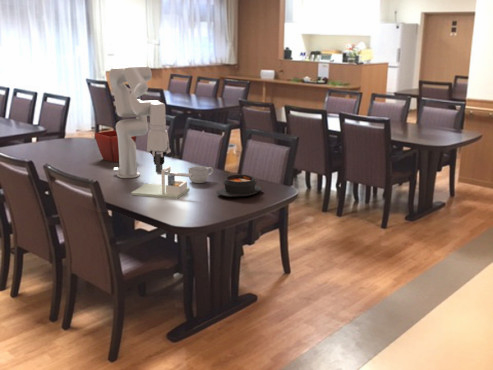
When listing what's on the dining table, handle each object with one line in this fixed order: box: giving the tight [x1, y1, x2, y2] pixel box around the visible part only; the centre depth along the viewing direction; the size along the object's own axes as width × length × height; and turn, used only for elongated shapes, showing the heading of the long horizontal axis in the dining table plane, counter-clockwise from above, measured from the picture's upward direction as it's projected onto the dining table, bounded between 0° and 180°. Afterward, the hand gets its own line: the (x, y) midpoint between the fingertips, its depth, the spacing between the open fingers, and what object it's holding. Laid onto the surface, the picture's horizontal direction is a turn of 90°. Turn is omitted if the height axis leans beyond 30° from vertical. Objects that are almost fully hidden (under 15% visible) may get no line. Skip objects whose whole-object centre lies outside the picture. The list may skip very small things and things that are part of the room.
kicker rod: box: [155, 152, 192, 186], centre depth 284 cm, size 18×5×18 cm, turn 76°
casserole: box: [216, 174, 263, 198], centre depth 286 cm, size 25×19×8 cm
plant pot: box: [94, 129, 137, 163], centre depth 355 cm, size 19×19×17 cm
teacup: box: [187, 165, 214, 184], centre depth 307 cm, size 14×11×8 cm
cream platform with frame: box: [131, 166, 190, 200], centre depth 286 cm, size 24×18×13 cm
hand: (159, 163), depth 284 cm, fingers closed on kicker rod, 2 cm apart
